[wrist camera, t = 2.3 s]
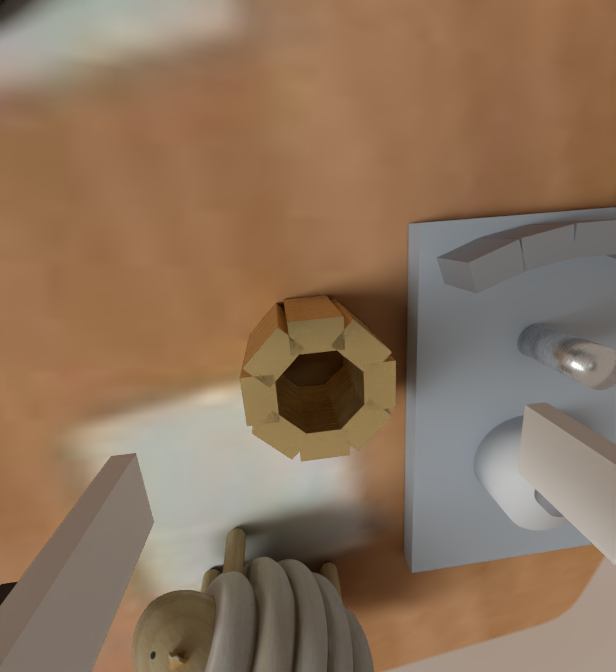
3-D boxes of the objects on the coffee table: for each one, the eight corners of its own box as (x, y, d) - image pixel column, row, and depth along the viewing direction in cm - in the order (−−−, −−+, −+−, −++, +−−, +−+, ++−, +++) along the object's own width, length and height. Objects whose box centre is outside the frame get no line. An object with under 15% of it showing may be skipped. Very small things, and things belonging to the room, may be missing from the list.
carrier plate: (408, 223, 18) (460, 220, 13) (643, 204, 19) (774, 195, 14) (403, 554, 26) (436, 633, 21) (574, 527, 27) (645, 596, 22)
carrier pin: (519, 325, 19) (590, 352, 15) (552, 321, 19) (631, 347, 15) (515, 357, 20) (582, 392, 16) (546, 354, 20) (622, 387, 16)
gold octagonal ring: (242, 303, 19) (232, 327, 14) (365, 291, 19) (396, 311, 14) (257, 413, 21) (253, 467, 16) (368, 400, 21) (395, 448, 17)
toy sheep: (194, 481, 22) (121, 715, 11) (406, 550, 26) (501, 773, 15) (138, 594, 24) (36, 874, 14) (341, 642, 28) (383, 890, 17)
